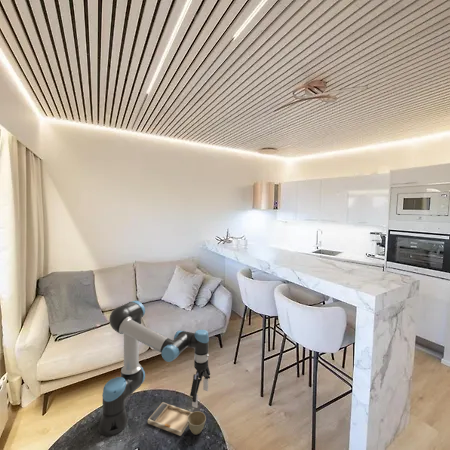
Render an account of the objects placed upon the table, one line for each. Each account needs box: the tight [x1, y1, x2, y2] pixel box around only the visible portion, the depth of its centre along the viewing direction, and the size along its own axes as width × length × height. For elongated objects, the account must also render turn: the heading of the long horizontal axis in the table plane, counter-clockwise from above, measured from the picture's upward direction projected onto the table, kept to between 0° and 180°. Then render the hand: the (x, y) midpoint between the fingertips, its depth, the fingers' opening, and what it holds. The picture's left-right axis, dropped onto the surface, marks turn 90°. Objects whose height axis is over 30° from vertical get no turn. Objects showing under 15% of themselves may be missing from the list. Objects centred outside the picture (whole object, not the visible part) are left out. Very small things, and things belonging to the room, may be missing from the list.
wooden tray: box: [147, 401, 193, 437], centre depth 142 cm, size 22×14×3 cm
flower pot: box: [188, 410, 207, 435], centre depth 135 cm, size 10×10×7 cm
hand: (200, 398), depth 134 cm, fingers open, 13 cm apart
